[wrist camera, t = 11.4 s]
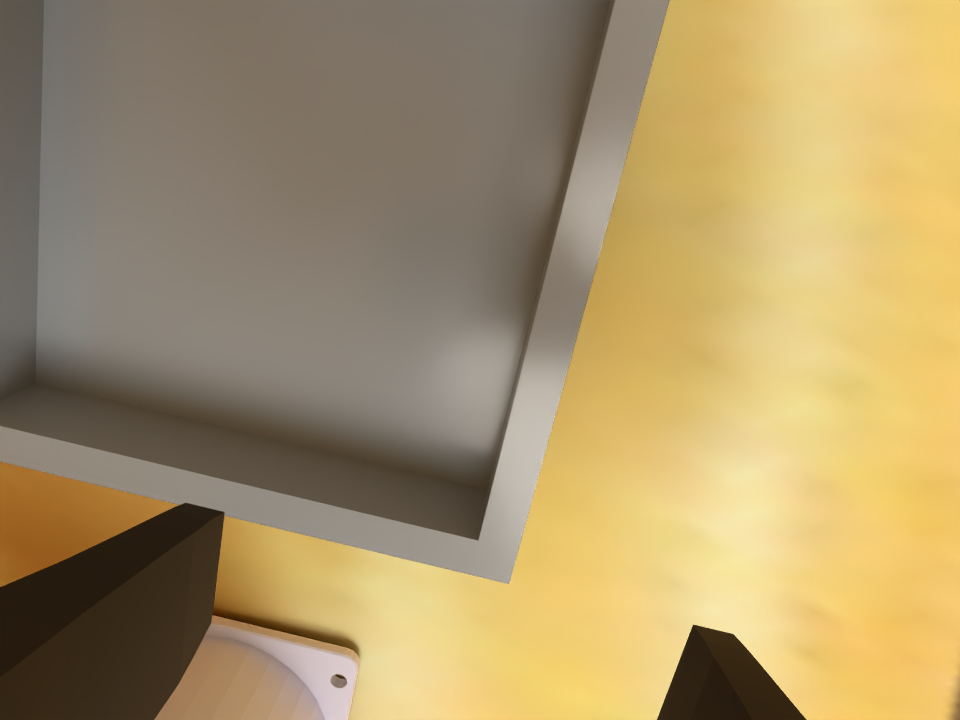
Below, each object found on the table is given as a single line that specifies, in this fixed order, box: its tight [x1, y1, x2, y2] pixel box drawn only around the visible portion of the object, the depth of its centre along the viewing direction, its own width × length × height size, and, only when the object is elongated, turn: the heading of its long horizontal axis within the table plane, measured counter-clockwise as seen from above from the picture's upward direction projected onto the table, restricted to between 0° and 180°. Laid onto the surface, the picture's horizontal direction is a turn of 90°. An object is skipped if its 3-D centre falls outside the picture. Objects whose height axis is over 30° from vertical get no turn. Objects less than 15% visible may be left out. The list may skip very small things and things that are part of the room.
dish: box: [0, 0, 669, 584], centre depth 17 cm, size 15×15×3 cm
